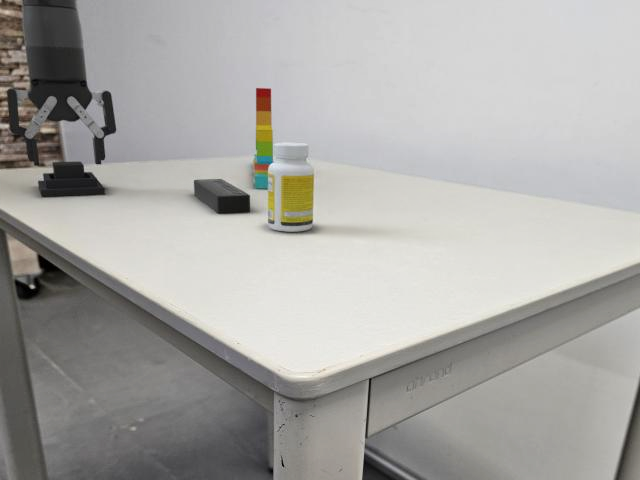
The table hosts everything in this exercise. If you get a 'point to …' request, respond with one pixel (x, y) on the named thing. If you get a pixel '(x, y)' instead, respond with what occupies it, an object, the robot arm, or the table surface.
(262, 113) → the chart
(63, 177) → the small pad
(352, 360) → the table surface
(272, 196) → the supplement bottle
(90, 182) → the base pad
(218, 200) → the multiport hub
